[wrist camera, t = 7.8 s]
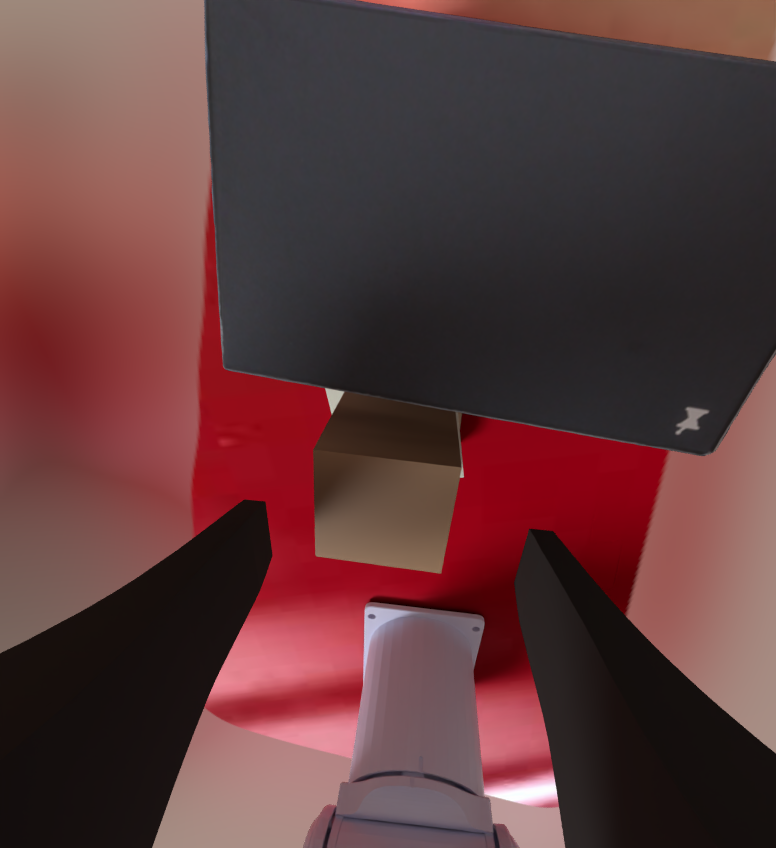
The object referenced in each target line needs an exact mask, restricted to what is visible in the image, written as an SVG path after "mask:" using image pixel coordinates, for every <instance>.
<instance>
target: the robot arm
mask: <svg viewBox="0 0 776 848" xmlns="http://www.w3.org/2000/svg"><path fill="white" fill-rule="evenodd" d="M271 558H272V548H271V541H270V533H269V526H268V518H267V511H266V503H265V502H263V501H253V500H243V501H242V502H240V503H239V504H238V505H236V506H235V507H234V508H232V509H231V510H230V511H228V512H227V513H226V514H224V515H223V516H222V517H221V518H219V519H218V520H217V521H215V522H214V523H213V524H211V525H210V526H209V527H208V528H206V529H205V530H204V531H202V532H201V533H200V534H198V535H197V536H196V537H194V538H193V539H192V540H190V541H189V542H188V543H186V544H185V545H184V546H182V547H181V548H180V549H178V550H177V551H175V552H174V553H172V554H171V555H169V556H168V557H167V558H165V559H164V560H162V561H161V562H159V563H158V564H156V565H155V566H154V567H152V568H151V569H149V570H148V571H146V572H145V573H143V574H142V575H141V576H139V577H137V578H136V579H135V580H133V581H131V582H130V583H128V584H127V585H125V586H123V587H122V588H120V589H119V590H117V591H115V592H114V593H112V594H110V595H109V596H107V597H105V598H104V599H102V600H100V601H98V602H97V603H95V604H94V605H92V606H90V607H89V608H87V609H85V610H83V611H81V612H80V613H78V614H76V615H74V616H72V617H70V618H68V619H66V620H64V621H62V622H61V623H59V624H57V625H55V626H53V627H51V628H49V629H47V630H46V631H44V632H42V633H40V634H38V635H36V636H34V637H32V638H31V639H29V640H27V641H25V642H23V643H21V644H19V645H17V646H14V647H12V648H10V649H8V650H6V651H4V652H2V653H0V848H152V846H153V843H154V841H155V838H156V835H157V832H158V829H159V826H160V824H161V821H162V818H163V815H164V812H165V810H166V807H167V804H168V801H169V798H170V795H171V792H172V790H173V787H174V784H175V781H176V779H177V776H178V773H179V771H180V768H181V766H182V763H183V760H184V757H185V755H186V752H187V750H188V747H189V744H190V742H191V739H192V736H193V734H194V731H195V729H196V726H197V724H198V721H199V718H200V716H201V714H202V711H203V709H204V706H205V704H206V701H207V699H208V696H209V694H210V691H211V689H212V687H213V685H214V682H215V680H216V678H217V676H218V674H219V672H220V670H221V668H222V666H223V664H224V662H225V660H226V658H227V656H228V654H229V652H230V650H231V648H232V646H233V644H234V642H235V640H236V638H237V636H238V634H239V632H240V630H241V628H242V626H243V624H244V622H245V620H246V618H247V616H248V614H249V612H250V610H251V608H252V606H253V604H254V602H255V600H256V598H257V596H258V594H259V591H260V589H261V586H262V584H263V581H264V578H265V576H266V573H267V570H268V567H269V564H270V561H271ZM514 585H515V593H516V601H517V608H518V615H519V622H520V626H521V630H522V634H523V638H524V642H525V646H526V650H527V654H528V658H529V662H530V666H531V670H532V674H533V678H534V682H535V686H536V690H537V693H538V697H539V701H540V705H541V709H542V713H543V717H544V722H545V726H546V731H547V736H548V741H549V747H550V753H551V759H552V765H553V771H554V777H555V783H556V789H557V795H558V802H559V808H560V815H561V821H562V828H563V835H564V841H565V848H776V753H774V752H773V751H772V750H771V749H769V748H768V747H767V746H766V745H764V744H763V743H762V742H761V741H760V740H758V739H757V738H756V737H755V736H753V735H752V734H751V733H750V732H749V731H748V730H746V729H745V728H744V727H743V726H742V725H740V724H739V723H738V722H737V721H736V720H735V719H733V718H732V717H731V716H730V715H729V714H728V713H726V712H725V711H724V710H723V709H722V708H720V707H719V706H718V705H717V704H716V703H715V702H713V701H712V700H711V699H710V698H709V697H708V696H707V695H706V694H705V693H703V692H702V691H701V690H700V689H699V688H698V687H697V686H696V685H695V684H694V683H693V682H692V681H690V680H689V679H688V678H687V677H686V676H685V675H684V674H683V673H682V672H681V671H680V670H679V669H678V668H677V667H675V666H674V665H673V664H672V663H671V662H670V661H669V660H668V659H667V658H666V657H665V656H664V655H663V654H662V653H661V652H660V651H659V650H658V649H657V648H656V647H655V646H654V645H653V644H652V643H651V642H650V641H649V640H648V639H647V638H646V637H645V636H644V635H643V634H642V633H641V632H640V631H639V630H638V629H637V628H636V627H635V626H634V625H633V624H632V622H631V621H630V620H629V619H628V618H627V617H626V616H625V615H624V614H623V613H622V612H621V611H620V610H619V608H618V607H617V606H616V605H615V604H614V603H613V602H612V601H611V600H610V598H609V597H608V596H607V595H606V594H605V593H604V592H603V590H602V589H601V588H600V587H599V586H598V585H597V584H596V582H595V581H594V580H593V579H592V578H591V577H590V575H589V574H588V573H587V572H586V571H585V569H584V568H583V567H582V566H581V565H580V563H579V562H578V561H577V560H576V558H575V557H574V556H573V555H572V554H571V552H570V551H569V550H568V549H567V548H566V546H565V545H564V544H563V543H562V541H561V540H560V539H559V538H558V537H557V535H556V534H555V533H554V532H553V531H547V530H537V529H529V531H528V535H527V539H526V542H525V546H524V549H523V553H522V557H521V560H520V564H519V568H518V571H517V575H516V578H515V582H514ZM484 625H485V622H484V618H483V617H482V616H481V615H477V614H468V613H460V612H452V611H443V610H435V609H426V608H418V607H410V606H401V605H393V604H384V603H376V602H369V603H367V604H366V606H365V624H364V674H363V690H362V696H361V703H360V710H359V716H358V723H357V730H356V736H355V743H354V749H353V756H352V763H351V770H350V776H349V782H342V783H341V784H340V790H339V795H338V802H337V806H336V805H327V806H325V807H324V809H323V810H322V812H321V813H320V815H319V816H318V817H317V818H316V820H314V822H313V823H312V825H311V827H310V829H309V831H308V834H307V836H306V839H305V842H304V845H303V848H519V846H518V844H517V843H516V842H515V840H514V838H513V837H512V836H511V835H510V833H509V831H508V829H507V827H506V826H505V825H504V824H493V823H492V813H491V803H490V799H489V798H487V797H485V795H484V784H483V773H482V762H481V750H480V739H479V728H478V717H477V706H476V695H475V683H474V672H473V670H474V666H475V662H476V658H477V654H478V650H479V646H480V642H481V638H482V634H483V630H484Z"/></svg>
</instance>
